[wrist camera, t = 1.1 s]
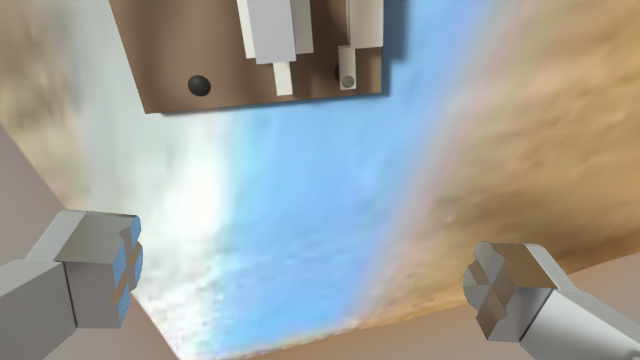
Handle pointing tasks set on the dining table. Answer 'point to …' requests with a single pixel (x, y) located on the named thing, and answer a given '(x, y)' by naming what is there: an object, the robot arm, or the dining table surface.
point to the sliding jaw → (276, 35)
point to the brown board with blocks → (243, 53)
